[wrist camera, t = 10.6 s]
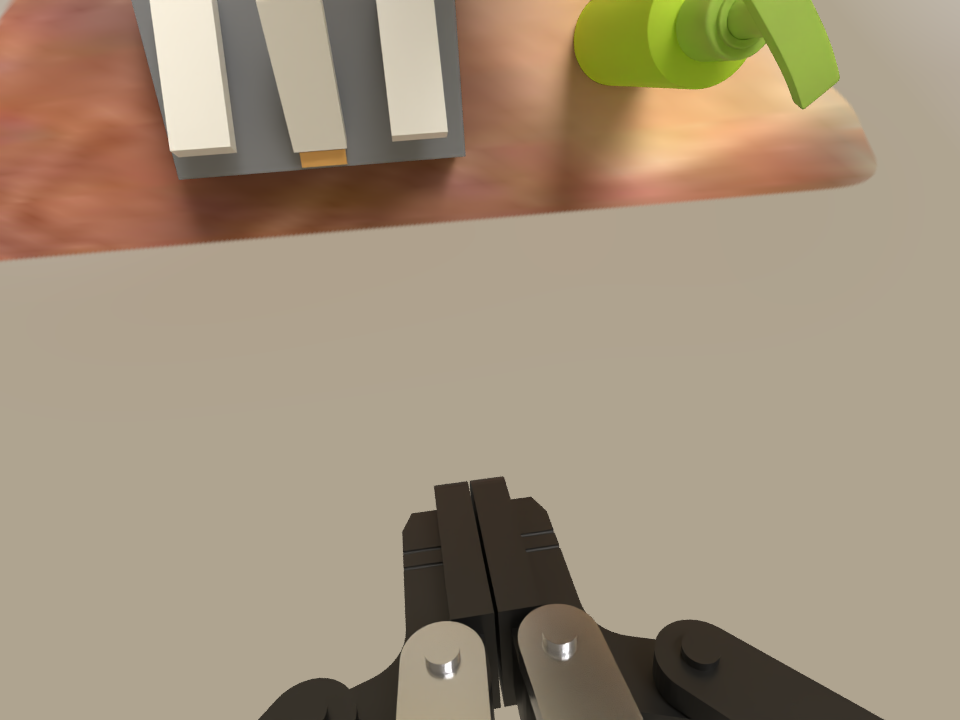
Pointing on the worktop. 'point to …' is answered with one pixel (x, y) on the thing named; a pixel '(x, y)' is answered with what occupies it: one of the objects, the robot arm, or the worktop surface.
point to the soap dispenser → (703, 43)
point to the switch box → (358, 86)
